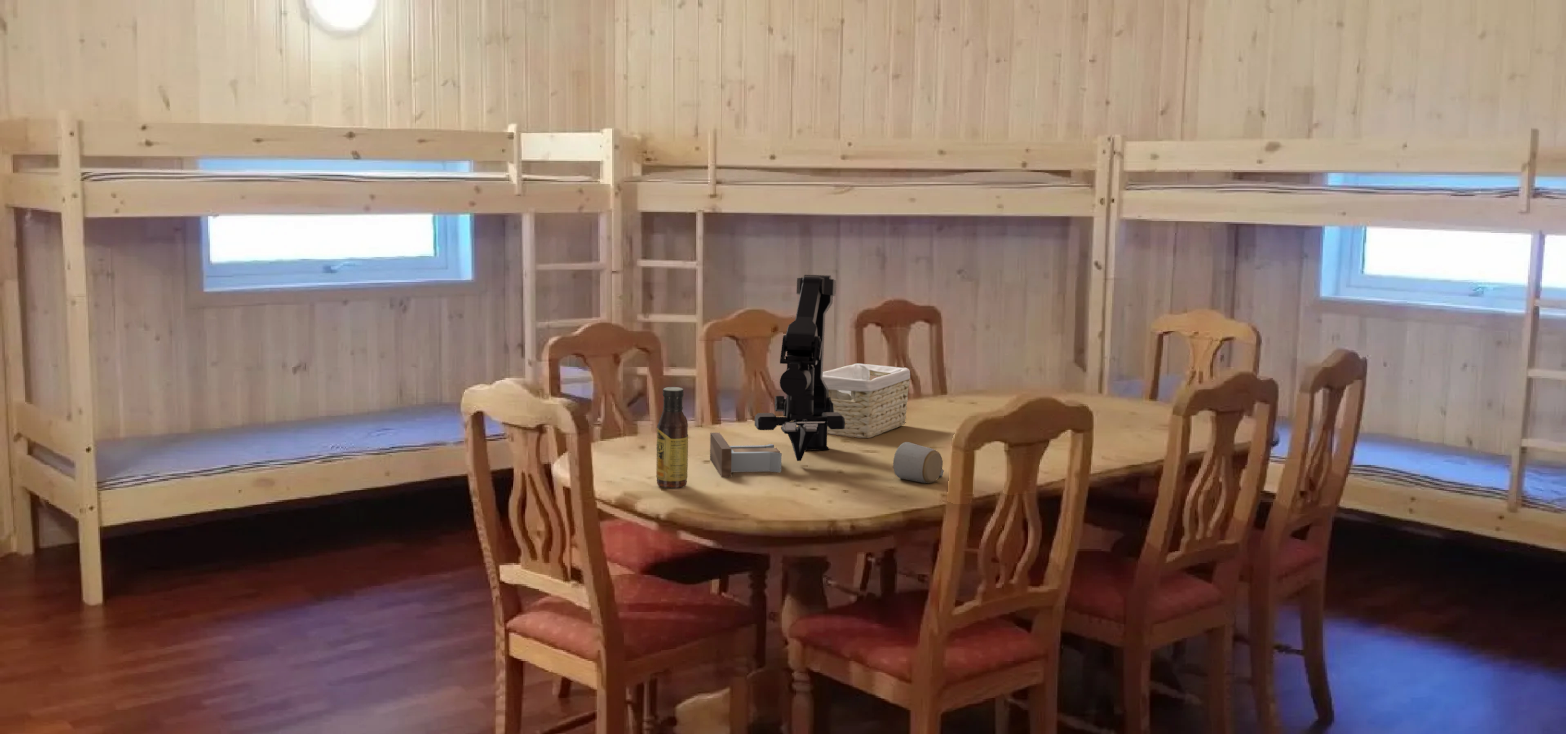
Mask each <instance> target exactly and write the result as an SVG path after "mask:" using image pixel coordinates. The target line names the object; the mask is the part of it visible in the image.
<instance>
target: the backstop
mask: <svg viewBox="0 0 1566 734" xmlns="http://www.w3.org/2000/svg"><path fill="white" fill-rule="evenodd" d="M709 433H710V437H709V441H710V442H709V445H710V446H709V461H710V462H711V463H712V466H714V468H715V470H716V471H717V473H718V475H719V476H720V478H731V477H732V472H731V452H732V449H731V447H730V446H731V445H729V443H728V442H727V440H725V439H726V438H724V436H723V435H722V434H721V433H720V432H709Z"/></svg>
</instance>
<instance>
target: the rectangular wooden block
mask: <svg viewBox="0 0 1566 734" xmlns="http://www.w3.org/2000/svg"><path fill="white" fill-rule="evenodd" d="M732 450H733V451H734V452H777V453H781V451H780V450H779V449H778V448H777V447H774V448H743V449H732Z"/></svg>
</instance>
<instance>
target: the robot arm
mask: <svg viewBox="0 0 1566 734" xmlns="http://www.w3.org/2000/svg"><path fill="white" fill-rule="evenodd" d="M836 294H837V280H836V279H833V278H832V276H831V275H828V274H827V275H825V274H804V275H803V276H801V277H797V278H796V295H799V299H798V303H797V304H798V305H797V309H796V314H795V320H793V321H792V322H791V323H789V324H788V326H787V328H786V329H787V330H786V333H785V334H783V336H782V340H781V341H782V343H781V349H780V350H781V351H780V358H779V365H781V364H783V365H786V369H785V371H784V372H783V373H781V376H780V379H779V387H780V388H781V390H782V392H783V393H785V394H786V398H785V395H776V396H774V412H783V413H782V414H783V416H776V415H775V413H774V412H757V413H756V414H755V416H754V427H755V428H756V429H757V430H758V431H774V430H775V429H776V428H777V427H778V426H780V429H781V431H782V432H783V433H784V434H785V435H786V434H787V435H788V438H789V440H790V443H791V446H792V450H793V452H794V455H795V459H796V461H797V462H801V461H802V460H803V457H804V455H805V453H806V451H824V450H825V451H827V450H830V449H829V446H828V434H827V426H828V427H829V428H830V429H845V419H844V417H843V416H842V415H841V414H839V413H838V412H834V406H833V403H832V401H831V397H829V389H828V388H827V386H826V384H825V382H824V380H823V372H824V354H825V353H824V351H825V350H824V349H825V333H826V331H825V329H826V328H825V326H826V314H827V312H828V311H829V309H830V308H831V306H832V305H833V304H834V303H833V301H834V297H835V296H836Z"/></svg>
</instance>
